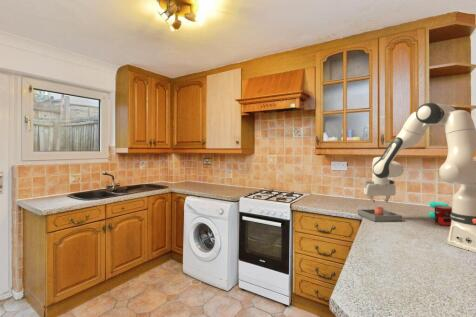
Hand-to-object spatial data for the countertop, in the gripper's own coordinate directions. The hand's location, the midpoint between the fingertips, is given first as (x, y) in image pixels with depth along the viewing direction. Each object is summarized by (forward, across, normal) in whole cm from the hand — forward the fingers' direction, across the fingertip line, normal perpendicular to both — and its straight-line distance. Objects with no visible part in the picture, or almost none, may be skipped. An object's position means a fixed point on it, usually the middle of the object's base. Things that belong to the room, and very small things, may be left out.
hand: (379, 202), depth 164 cm
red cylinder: (+9, 0, +1) cm, 9 cm away
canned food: (+11, +29, -16) cm, 35 cm away
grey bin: (+10, 0, +1) cm, 10 cm away
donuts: (+11, +40, -2) cm, 41 cm away
